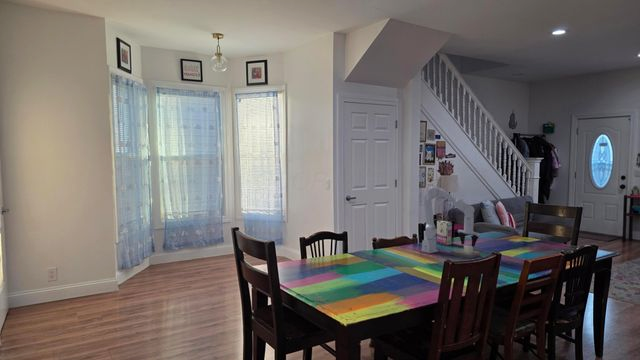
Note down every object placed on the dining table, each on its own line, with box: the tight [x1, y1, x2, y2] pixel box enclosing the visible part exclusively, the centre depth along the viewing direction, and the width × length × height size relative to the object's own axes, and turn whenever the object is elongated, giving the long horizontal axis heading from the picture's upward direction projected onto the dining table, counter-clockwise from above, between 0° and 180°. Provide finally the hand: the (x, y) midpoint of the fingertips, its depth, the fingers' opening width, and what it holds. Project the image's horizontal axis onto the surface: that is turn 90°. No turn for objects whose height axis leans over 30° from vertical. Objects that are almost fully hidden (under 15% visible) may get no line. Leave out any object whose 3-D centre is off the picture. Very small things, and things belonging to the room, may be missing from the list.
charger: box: [463, 244, 474, 254], centre depth 269 cm, size 4×4×6 cm
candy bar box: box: [436, 219, 453, 246], centre depth 302 cm, size 11×5×16 cm, turn 25°
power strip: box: [450, 248, 481, 259], centre depth 271 cm, size 12×14×2 cm
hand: (468, 245), depth 269 cm, fingers open, 7 cm apart
